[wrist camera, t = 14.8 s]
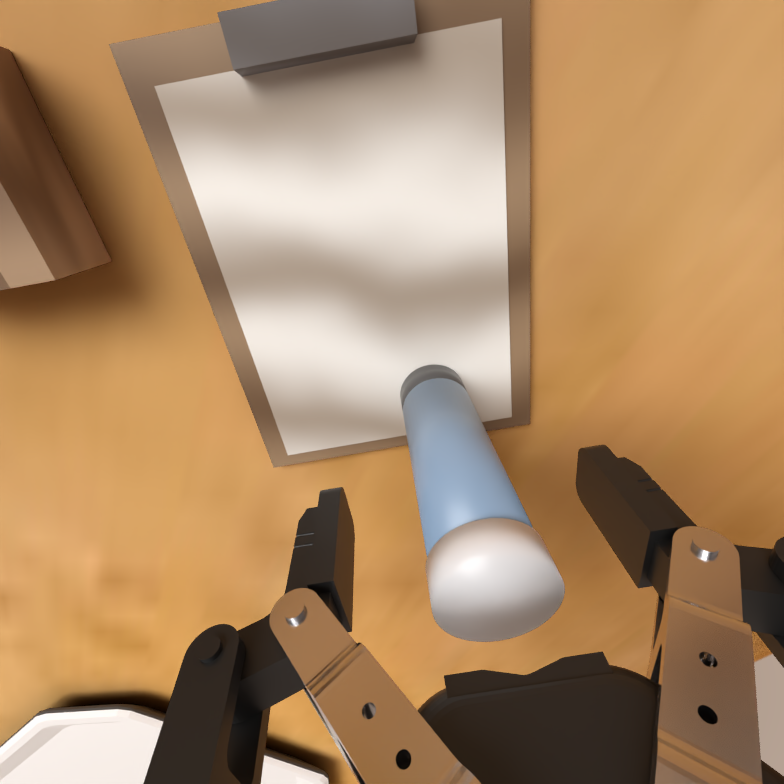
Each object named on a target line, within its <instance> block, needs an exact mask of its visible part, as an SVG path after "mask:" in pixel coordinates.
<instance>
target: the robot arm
mask: <svg viewBox="0 0 784 784" xmlns="http://www.w3.org/2000/svg"><path fill="white" fill-rule="evenodd" d="M576 489H577V493H578V496H579V498H580V500H581V502H582V504H583V505H584V507H585V508H586V510H587V511H588V513H589V514H590V516H591V517H592V519H593V520H594V522H595V523H596V525H597V526H598V528H599V529H600V531H601V532H602V534H603V536H604V537H605V539H606V540H607V542H608V543H609V545H610V546H611V548H612V549H613V551H614V552H615V554H616V555H617V557H618V558H619V560H620V561H621V563H622V564H623V566H624V567H625V569H626V570H627V572H628V573H629V575H630V577H631V578H632V580H633V581H634V583H635V584H636V586H637V587H638V588H643V587H649V586H653V587H654V588H655V590H656V591H657V593H658V598H657V603H656V612H655V620H654V629H653V637H652V645H651V654H650V661H649V666H648V671H647V677H644V676H642V675H640V674H638V673H636V672H633V671H630V670H628V669H625V668H621V667H617V666H613V665H609V664H608V662H607V660H606V658H605V656H604V654H603V652H597V653H590V654H583V655H577V656H570V657H564V658H561V659H559V660H557V661H555V662H553V663H551V664H549V665H547V666H545V667H543V668H541V669H539V670H537V671H535V672H533V673H531V674H528V675H518V674H510V673H503V672H495V671H488V670H478V671H472V672H465V673H458V674H452V675H445V676H444V679H445V685H446V688H445V689H443V690H441V691H439V692H438V693H436V694H435V695H433V696H432V697H430V698H429V699H428V700H427V701H426V702H425V703H424V704H423V705H422V706H421V707H420V708H419V709H418V711H417V710H416V708H415V707H414V706H413V705H412V704H411V702H410V701H409V700H408V699H407V697H406V696H405V695H404V694H403V692H402V691H401V690H400V689H399V688H398V686H397V685H396V684H395V683H394V681H393V680H392V679H391V678H390V677H389V675H388V674H387V673H386V672H385V670H384V669H383V668H382V667H381V665H380V664H379V663H378V662H377V661H376V659H375V658H374V657H373V656H372V654H371V653H370V652H369V651H368V650H367V648H366V647H365V646H364V645H363V644H361V643H358V644H357V643H356V642H355V641H354V640H353V639H352V637H351V636H350V635H349V634H348V632H352V611H353V577H354V543H355V533H354V524H353V519H352V516H351V512H350V509H349V505H348V502H347V499H346V495H345V492H344V489H343V488H342V487H340V488H334V489H328V490H322V491H320V495H319V502H318V507H314V508H308V509H307V510H306V511H305V513H304V514H303V516H302V517H301V519H300V520H299V523H298V528H297V533H296V538H295V544H294V549H293V554H292V559H291V565H290V570H289V575H288V580H287V586H286V590H285V594H284V595H283V596H282V597H281V598H280V599H279V600H278V601H277V602H276V604H275V605H274V607H273V609H272V611H271V613H270V614H269V615H267V616H266V617H265V618H263V619H261V620H259V621H257V622H255V623H253V624H251V625H249V626H247V627H245V628H243V629H241V630H238V631H236V629H235V628H234V627H232V626H231V625H227V624H220V625H215V626H213V627H210V628H208V629H207V630H205V631H204V632H202V633H201V634H200V635H199V636H198V637H197V638H196V639H195V640H194V641H193V642H192V643H191V645H190V646H189V648H188V649H187V651H186V654H185V656H184V659H183V662H182V665H181V668H180V671H179V674H178V678H177V681H176V684H175V687H174V690H173V693H172V696H171V699H170V702H169V706H168V709H167V712H166V715H165V718H164V721H163V724H162V727H161V730H160V734H159V737H158V740H157V743H156V746H155V749H154V752H153V755H152V758H151V762H150V765H149V768H148V771H147V774H146V777H145V780H144V783H143V784H261V777H262V769H263V762H264V754H265V746H266V738H267V730H268V722H269V715H270V707H271V706H273V705H274V704H276V703H278V702H280V701H282V700H284V699H285V698H287V697H289V696H291V695H293V694H295V693H297V692H298V691H300V690H302V689H303V690H304V691H305V693H306V695H307V696H308V698H309V700H310V701H311V703H312V705H313V706H314V708H315V710H316V711H317V713H318V715H319V716H320V718H321V720H322V721H323V723H324V725H325V726H326V728H327V730H328V731H329V733H330V735H331V736H332V738H333V740H334V741H335V743H336V745H337V746H338V748H339V750H340V752H341V753H342V755H343V757H344V759H345V760H346V762H347V764H348V766H349V767H350V769H351V771H352V772H353V774H354V776H355V778H356V779H357V781H358V783H359V784H784V776H782V775H781V774H780V773H778V772H777V771H775V770H774V769H773V768H771V767H770V766H769V765H767V764H766V763H765V762H763V761H762V760H761V756H760V743H759V728H758V714H757V699H756V686H755V671H754V656H753V642H752V631H754V632H756V633H757V634H758V635H759V637H760V638H761V639H762V641H763V642H764V643H765V644H766V646H767V647H768V648H769V650H770V651H771V652H772V653H773V655H774V656H775V657H776V658H777V660H778V661H779V662H780V664H781V665H782V666H783V667H784V537H783V538H780V539H779V540H778V541H777V542H776V544H775V546H774V548H773V549H766V548H756V547H747V546H738V545H733V544H732V543H731V542H730V541H729V540H728V539H727V538H725V537H724V536H722V535H721V534H719V533H717V532H715V531H712V530H710V529H706V528H703V527H697V526H696V525H695V524H694V523H693V522H692V521H691V519H690V518H689V517H688V516H687V515H686V514H685V513H684V512H683V511H682V510H681V509H680V508H679V507H678V506H677V505H676V504H675V502H674V501H673V500H672V499H671V498H670V497H669V496H668V495H667V494H666V493H665V492H664V491H663V490H661V488H660V486H659V485H658V484H657V483H656V482H655V481H654V480H652V479H651V477H650V476H649V475H648V474H647V473H646V472H645V471H644V469H643V468H642V467H641V466H639V465H637V464H636V463H634V462H632V461H630V460H629V459H627V458H625V457H623V458H617V457H616V456H615V455H614V454H613V453H612V451H611V450H610V449H609V448H608V447H607V446H606V445H598V446H592V447H586V448H581V449H580V450H579V452H578V463H577V475H576Z"/></svg>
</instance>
